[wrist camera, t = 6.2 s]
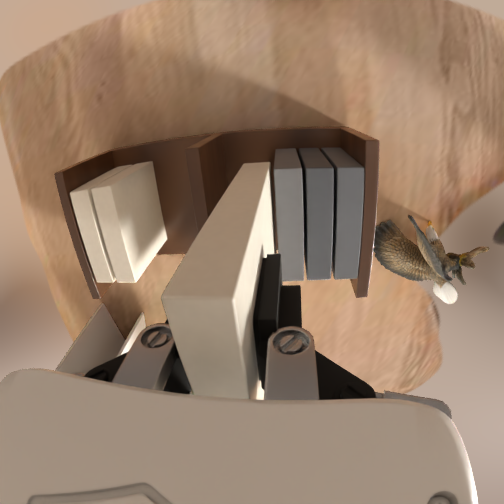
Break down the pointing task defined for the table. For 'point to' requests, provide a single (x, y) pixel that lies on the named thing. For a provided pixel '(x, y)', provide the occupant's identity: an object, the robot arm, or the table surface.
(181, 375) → the robot arm
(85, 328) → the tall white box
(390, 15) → the table surface
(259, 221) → the white book
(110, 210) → the white books
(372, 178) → the book rack
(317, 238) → the grey books
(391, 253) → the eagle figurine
